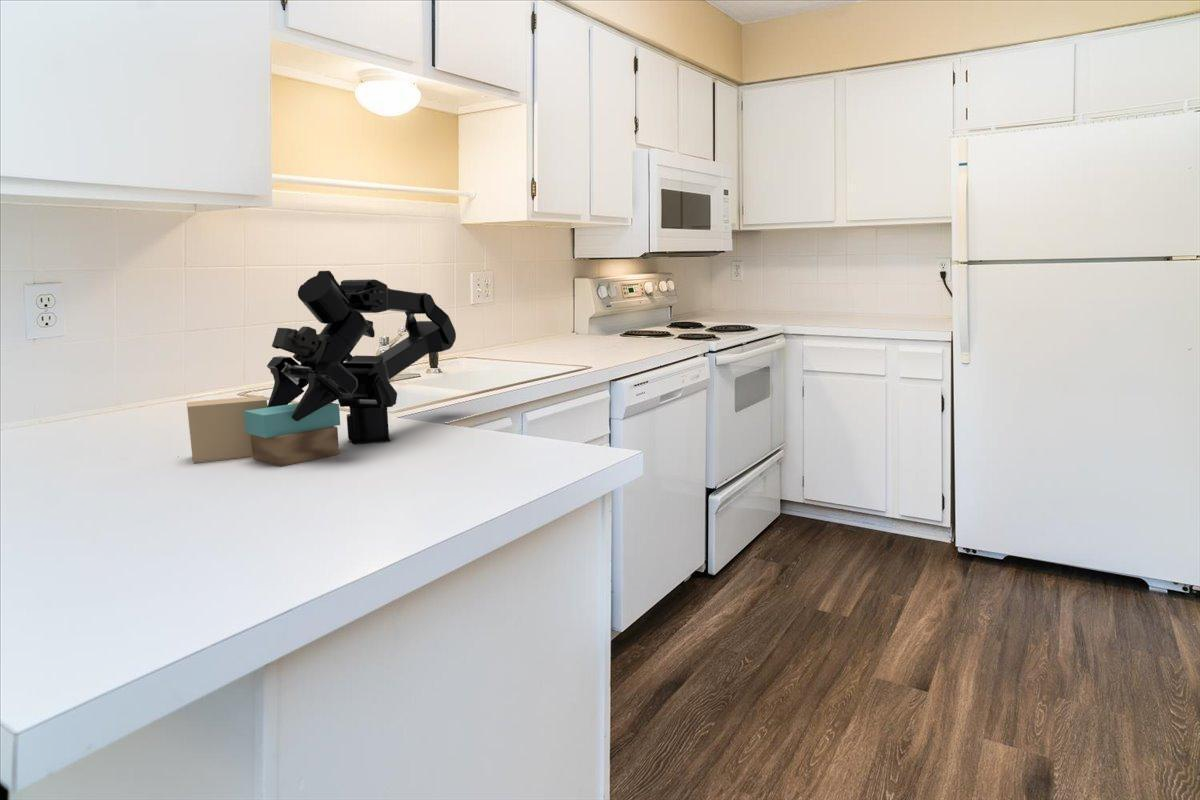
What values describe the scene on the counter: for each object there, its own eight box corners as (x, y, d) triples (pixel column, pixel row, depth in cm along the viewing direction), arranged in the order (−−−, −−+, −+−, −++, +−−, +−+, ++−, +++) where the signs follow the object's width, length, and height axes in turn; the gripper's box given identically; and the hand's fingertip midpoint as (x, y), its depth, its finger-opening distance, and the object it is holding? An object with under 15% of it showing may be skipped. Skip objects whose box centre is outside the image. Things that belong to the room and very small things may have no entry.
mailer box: (267, 448, 133) (262, 395, 132) (271, 454, 129) (266, 399, 127) (192, 456, 128) (186, 402, 127) (193, 463, 123) (187, 406, 122)
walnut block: (310, 447, 134) (308, 421, 133) (339, 454, 128) (337, 427, 127) (252, 458, 126) (250, 430, 125) (280, 466, 120) (278, 437, 120)
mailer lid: (319, 420, 133) (317, 400, 132) (340, 425, 129) (338, 404, 128) (245, 432, 124) (243, 410, 123) (265, 438, 119) (263, 415, 119)
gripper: (272, 308, 131) (213, 382, 125) (333, 309, 119) (271, 391, 113) (319, 350, 138) (266, 422, 132) (382, 355, 127) (326, 434, 120)
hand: (280, 417), depth 124 cm, fingers open, 8 cm apart
